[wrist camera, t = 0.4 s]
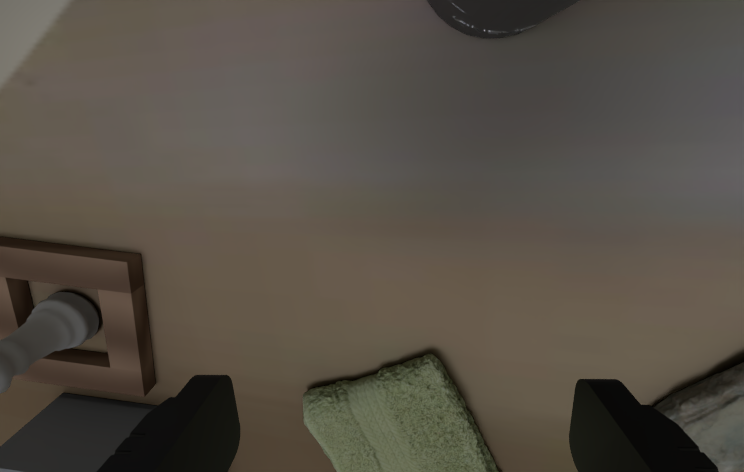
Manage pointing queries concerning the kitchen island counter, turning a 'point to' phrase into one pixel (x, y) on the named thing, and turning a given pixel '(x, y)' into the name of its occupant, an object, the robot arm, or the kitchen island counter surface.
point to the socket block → (118, 307)
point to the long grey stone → (713, 416)
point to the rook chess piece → (47, 333)
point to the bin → (72, 435)
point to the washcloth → (397, 422)
